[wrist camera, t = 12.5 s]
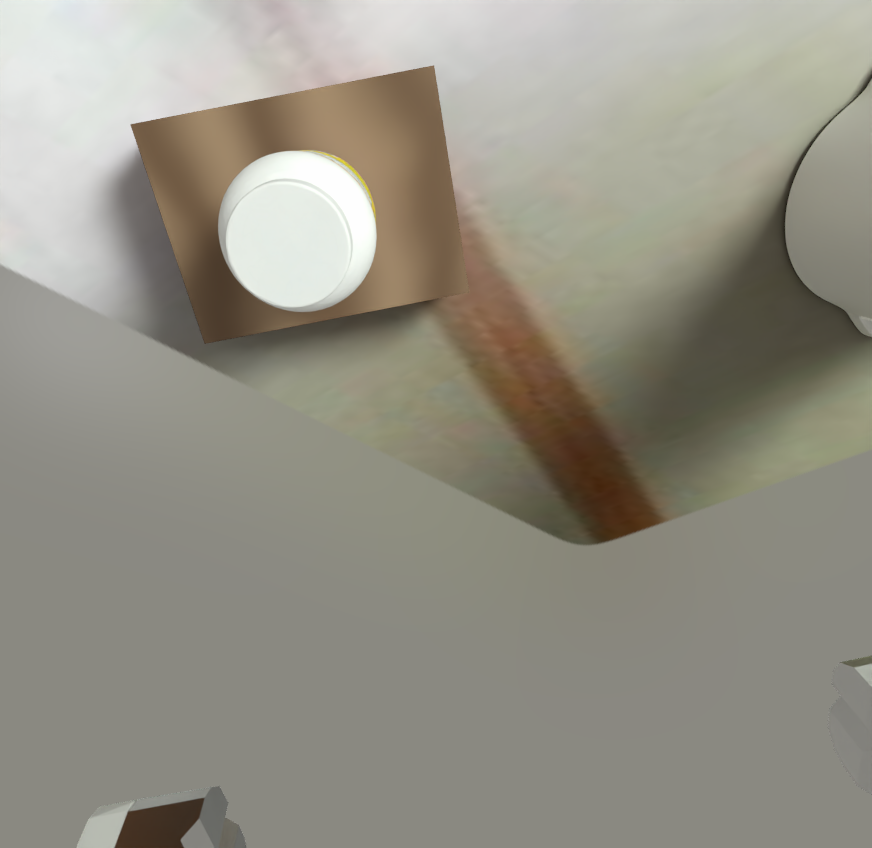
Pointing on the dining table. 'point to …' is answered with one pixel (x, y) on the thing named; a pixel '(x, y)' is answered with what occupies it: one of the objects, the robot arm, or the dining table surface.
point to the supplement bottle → (298, 229)
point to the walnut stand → (328, 132)
